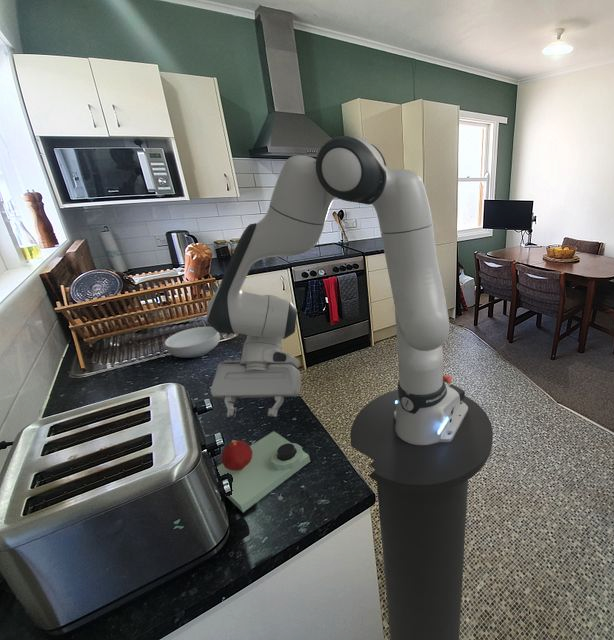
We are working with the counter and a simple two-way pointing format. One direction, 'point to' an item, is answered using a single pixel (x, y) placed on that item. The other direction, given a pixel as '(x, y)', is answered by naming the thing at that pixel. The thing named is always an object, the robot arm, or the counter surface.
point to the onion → (236, 455)
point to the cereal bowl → (193, 342)
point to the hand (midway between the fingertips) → (251, 416)
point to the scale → (263, 471)
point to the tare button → (286, 452)
